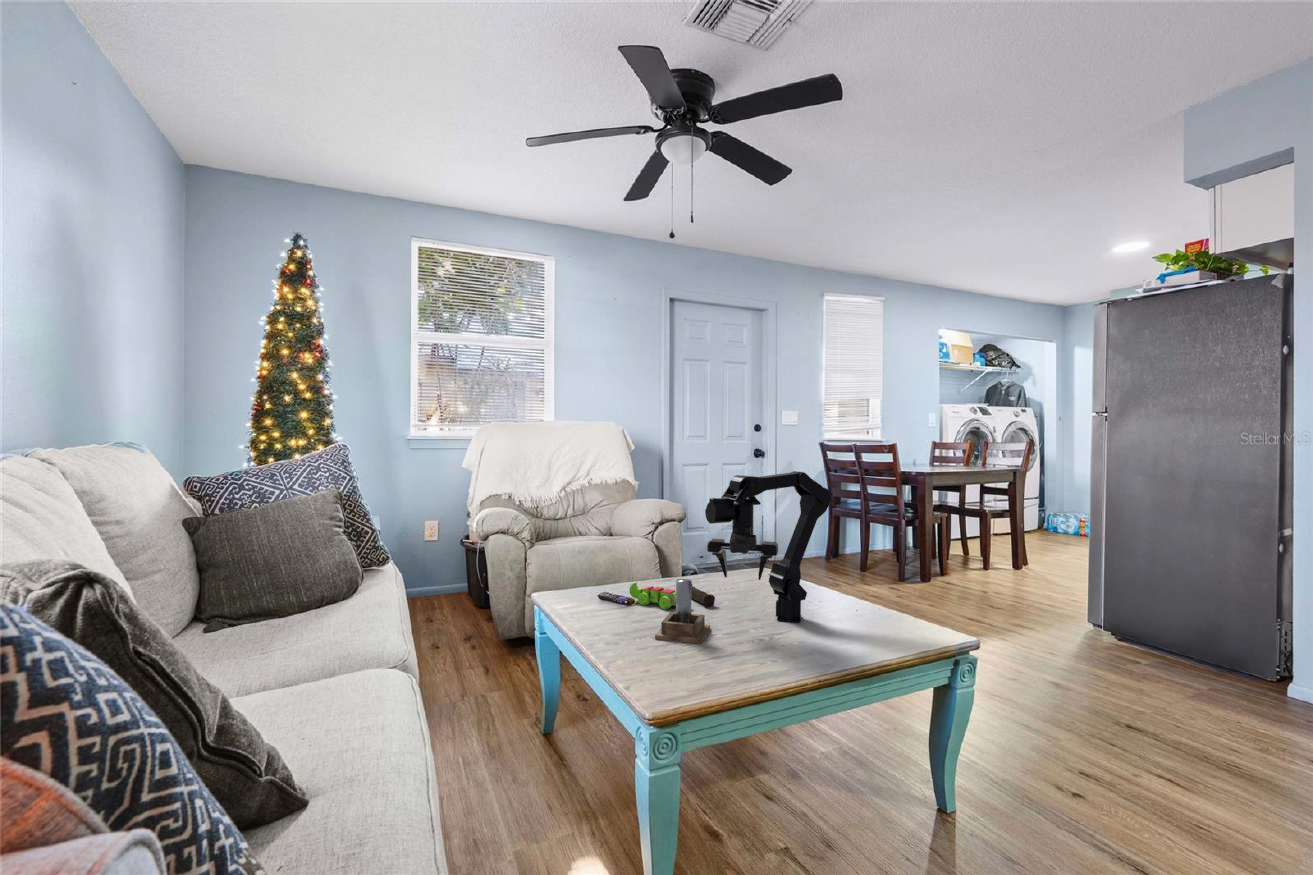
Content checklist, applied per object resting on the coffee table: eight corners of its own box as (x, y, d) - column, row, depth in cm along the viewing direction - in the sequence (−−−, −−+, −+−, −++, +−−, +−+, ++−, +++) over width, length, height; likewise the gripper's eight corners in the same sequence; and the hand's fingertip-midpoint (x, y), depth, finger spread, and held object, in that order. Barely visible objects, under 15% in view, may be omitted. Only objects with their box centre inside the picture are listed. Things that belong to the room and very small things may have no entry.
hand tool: (715, 607, 182) (715, 592, 182) (703, 608, 181) (704, 593, 181) (688, 592, 200) (688, 578, 200) (677, 593, 198) (677, 579, 198)
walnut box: (710, 628, 161) (710, 613, 161) (701, 643, 150) (701, 627, 150) (667, 624, 165) (667, 610, 165) (655, 639, 153) (655, 623, 153)
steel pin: (694, 629, 158) (694, 580, 157) (685, 633, 154) (685, 583, 154) (681, 626, 160) (681, 578, 160) (673, 630, 157) (673, 581, 157)
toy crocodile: (692, 607, 181) (692, 587, 181) (681, 613, 176) (681, 592, 176) (638, 598, 192) (638, 579, 192) (626, 602, 186) (626, 583, 186)
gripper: (703, 524, 158) (703, 583, 159) (774, 527, 153) (774, 588, 153) (711, 518, 169) (711, 573, 169) (778, 521, 164) (778, 578, 164)
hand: (742, 578), depth 164 cm, fingers open, 9 cm apart
